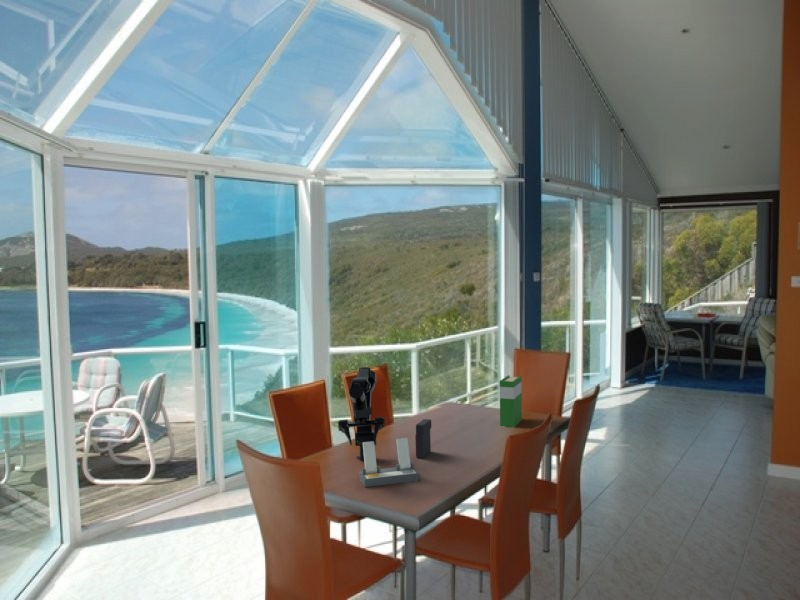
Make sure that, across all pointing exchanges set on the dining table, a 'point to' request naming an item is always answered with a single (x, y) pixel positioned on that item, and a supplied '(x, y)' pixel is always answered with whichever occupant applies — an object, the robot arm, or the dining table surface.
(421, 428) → the dark gray upright box
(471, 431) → the dining table surface
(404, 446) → the lever slate
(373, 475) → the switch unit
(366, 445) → the white switch lever
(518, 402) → the hardback book
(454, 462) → the dining table surface
